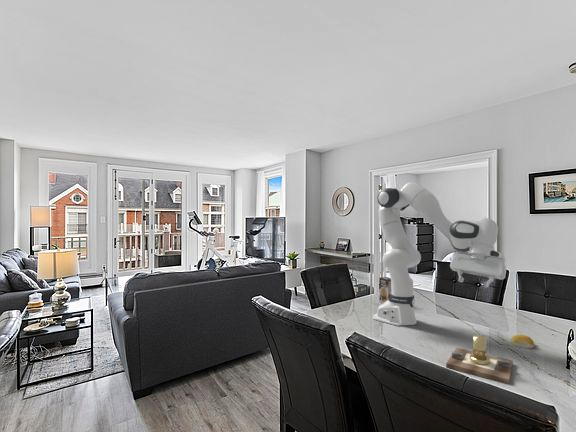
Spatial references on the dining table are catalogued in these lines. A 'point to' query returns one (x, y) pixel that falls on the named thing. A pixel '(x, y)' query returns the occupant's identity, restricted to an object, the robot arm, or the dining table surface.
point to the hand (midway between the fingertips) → (472, 284)
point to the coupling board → (481, 366)
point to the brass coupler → (479, 350)
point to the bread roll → (522, 341)
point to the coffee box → (384, 288)
